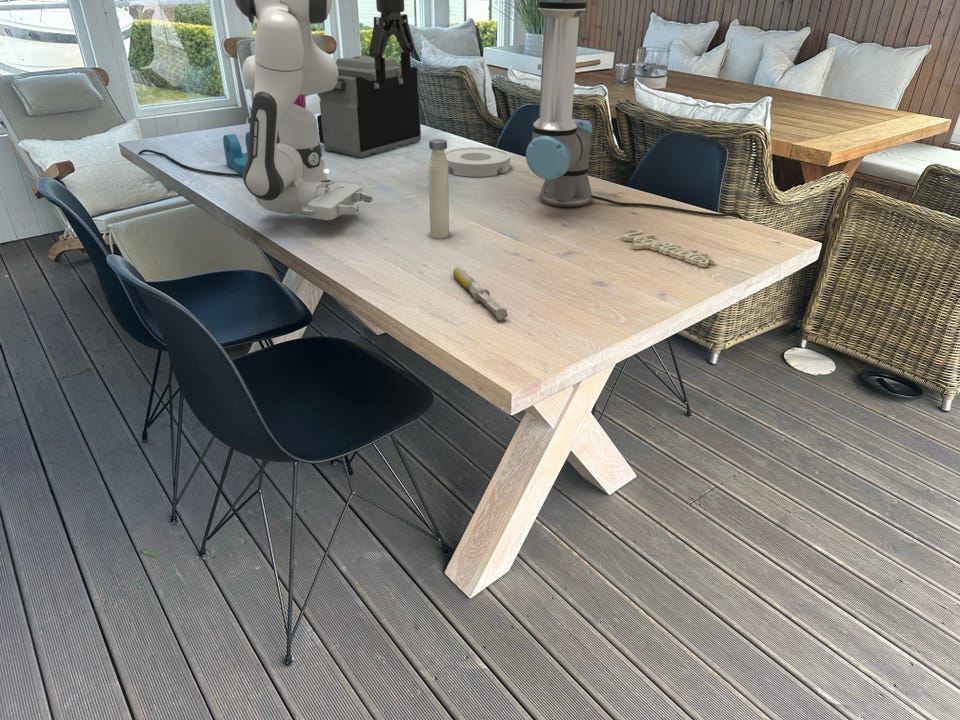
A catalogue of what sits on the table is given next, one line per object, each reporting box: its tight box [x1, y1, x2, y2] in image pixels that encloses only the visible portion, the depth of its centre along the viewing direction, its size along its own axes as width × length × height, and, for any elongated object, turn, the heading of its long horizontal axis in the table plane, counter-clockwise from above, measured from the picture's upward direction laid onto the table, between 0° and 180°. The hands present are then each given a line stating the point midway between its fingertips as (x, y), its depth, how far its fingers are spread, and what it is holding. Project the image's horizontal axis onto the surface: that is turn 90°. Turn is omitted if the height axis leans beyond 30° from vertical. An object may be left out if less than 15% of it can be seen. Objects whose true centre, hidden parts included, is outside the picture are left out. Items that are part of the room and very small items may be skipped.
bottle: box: [428, 149, 450, 239], centre depth 171 cm, size 5×5×23 cm
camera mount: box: [222, 131, 250, 174], centre depth 226 cm, size 18×10×10 cm, turn 35°
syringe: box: [452, 266, 509, 321], centre depth 145 cm, size 25×4×3 cm, turn 21°
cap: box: [428, 138, 448, 151], centre depth 165 cm, size 4×4×2 cm
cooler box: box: [316, 55, 422, 159], centre depth 250 cm, size 37×22×30 cm, turn 144°
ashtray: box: [444, 146, 511, 178], centre depth 232 cm, size 23×23×4 cm
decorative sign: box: [622, 228, 715, 268], centre depth 169 cm, size 26×1×10 cm
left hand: (364, 203), depth 178 cm, fingers open, 8 cm apart
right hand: (394, 80), depth 195 cm, fingers open, 13 cm apart
